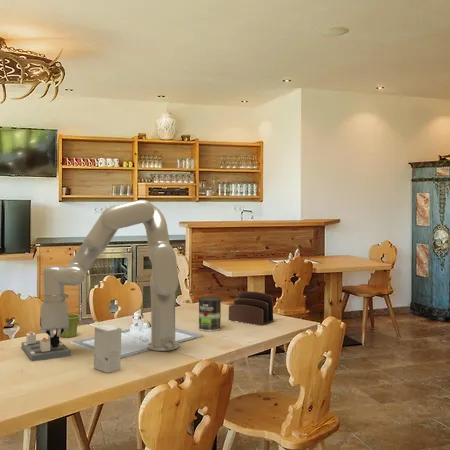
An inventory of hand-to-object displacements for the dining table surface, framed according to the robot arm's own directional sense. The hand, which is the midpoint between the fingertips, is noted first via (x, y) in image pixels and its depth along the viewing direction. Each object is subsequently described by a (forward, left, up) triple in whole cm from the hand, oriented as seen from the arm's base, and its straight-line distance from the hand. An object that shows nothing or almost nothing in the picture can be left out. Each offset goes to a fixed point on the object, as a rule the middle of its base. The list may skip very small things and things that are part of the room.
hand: (54, 346), depth 202 cm
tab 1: (+14, +6, -1) cm, 15 cm away
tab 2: (0, +4, -1) cm, 4 cm away
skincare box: (-27, -12, -4) cm, 30 cm away
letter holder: (+11, -96, -4) cm, 96 cm away
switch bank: (+7, +2, -3) cm, 8 cm away
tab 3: (+7, -1, -1) cm, 7 cm away
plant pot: (+27, -12, -4) cm, 30 cm away
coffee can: (+7, -71, -4) cm, 71 cm away
